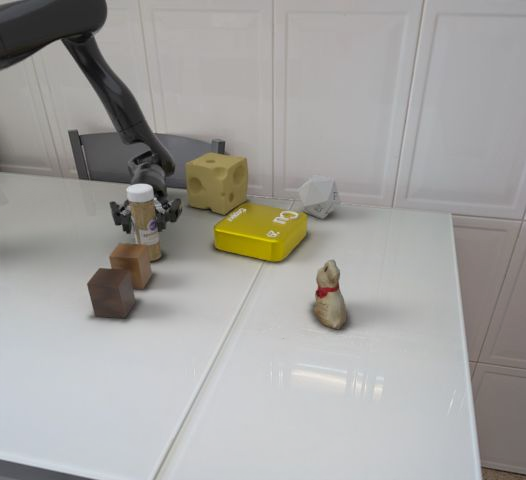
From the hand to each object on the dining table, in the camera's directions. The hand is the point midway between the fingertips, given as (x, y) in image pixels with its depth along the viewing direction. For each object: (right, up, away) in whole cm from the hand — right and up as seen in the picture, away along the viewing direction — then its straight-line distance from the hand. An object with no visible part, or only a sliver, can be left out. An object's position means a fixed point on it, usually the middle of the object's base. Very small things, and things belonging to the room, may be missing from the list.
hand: (143, 228), depth 88 cm
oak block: (-2, -10, -1) cm, 10 cm away
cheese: (+11, +12, +27) cm, 32 cm away
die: (+34, +9, +23) cm, 41 cm away
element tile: (+21, 0, +12) cm, 24 cm away
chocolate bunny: (+32, -16, -9) cm, 37 cm away
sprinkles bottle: (0, -4, +7) cm, 8 cm away
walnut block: (-3, -15, -8) cm, 17 cm away
